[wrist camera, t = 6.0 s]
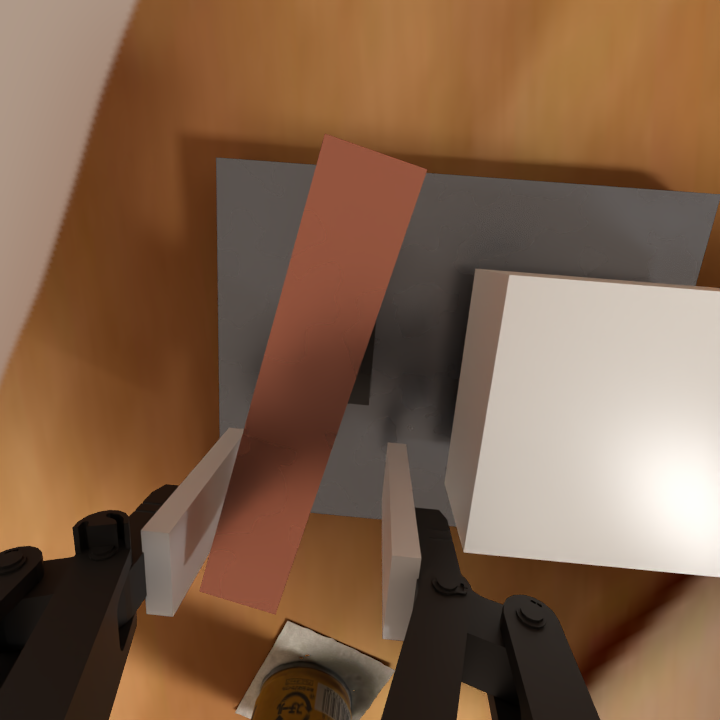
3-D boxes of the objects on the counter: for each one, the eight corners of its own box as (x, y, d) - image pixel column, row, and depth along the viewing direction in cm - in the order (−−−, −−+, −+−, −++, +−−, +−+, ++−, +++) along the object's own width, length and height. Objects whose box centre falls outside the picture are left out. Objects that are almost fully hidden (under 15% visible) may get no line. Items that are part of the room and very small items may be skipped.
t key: (352, 192, 17) (324, 133, 8) (404, 209, 17) (427, 169, 8) (275, 449, 20) (199, 591, 11) (318, 463, 20) (275, 614, 12)
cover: (722, 288, 15) (847, 301, 11) (658, 503, 17) (742, 579, 13) (475, 268, 15) (509, 274, 11) (444, 483, 18) (463, 552, 14)
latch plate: (685, 200, 18) (866, 170, 11) (602, 517, 22) (699, 633, 15) (233, 167, 19) (149, 119, 12) (234, 482, 23) (172, 580, 16)
